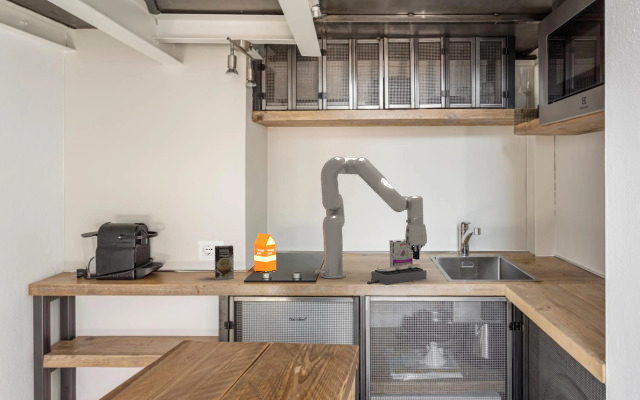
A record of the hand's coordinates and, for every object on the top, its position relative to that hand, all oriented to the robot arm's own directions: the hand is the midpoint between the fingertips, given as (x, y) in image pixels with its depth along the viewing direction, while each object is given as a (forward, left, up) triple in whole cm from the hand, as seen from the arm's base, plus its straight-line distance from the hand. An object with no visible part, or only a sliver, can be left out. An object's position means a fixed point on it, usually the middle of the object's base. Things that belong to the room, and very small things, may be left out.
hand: (416, 259), depth 216 cm
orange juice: (-57, +55, -10) cm, 80 cm away
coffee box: (-81, +49, -10) cm, 95 cm away
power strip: (-11, +3, -10) cm, 15 cm away
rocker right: (0, +3, -4) cm, 5 cm away
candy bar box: (+5, +18, -10) cm, 21 cm away
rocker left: (-15, +3, -4) cm, 16 cm away
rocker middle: (-8, +3, -4) cm, 10 cm away
